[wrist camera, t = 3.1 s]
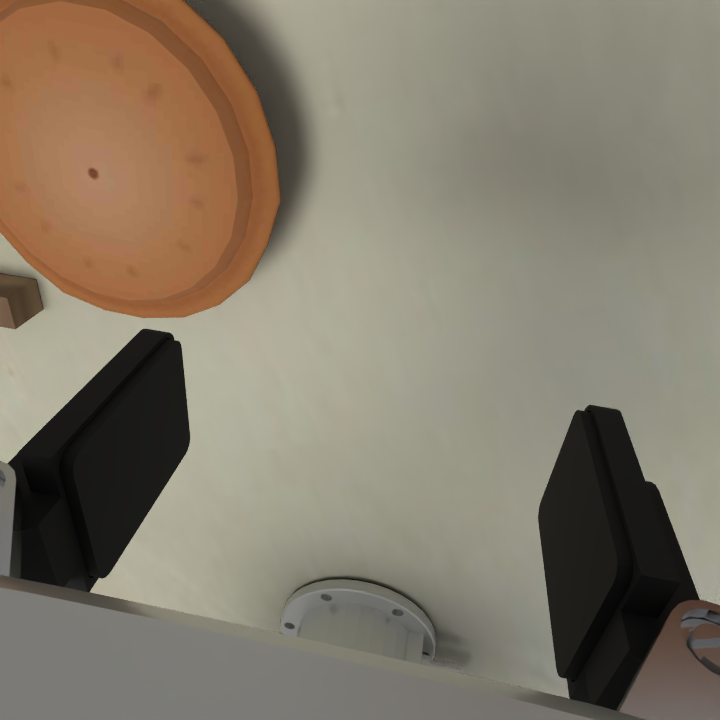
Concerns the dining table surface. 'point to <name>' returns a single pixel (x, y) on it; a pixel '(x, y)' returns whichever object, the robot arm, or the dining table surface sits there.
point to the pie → (132, 154)
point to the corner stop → (18, 300)
